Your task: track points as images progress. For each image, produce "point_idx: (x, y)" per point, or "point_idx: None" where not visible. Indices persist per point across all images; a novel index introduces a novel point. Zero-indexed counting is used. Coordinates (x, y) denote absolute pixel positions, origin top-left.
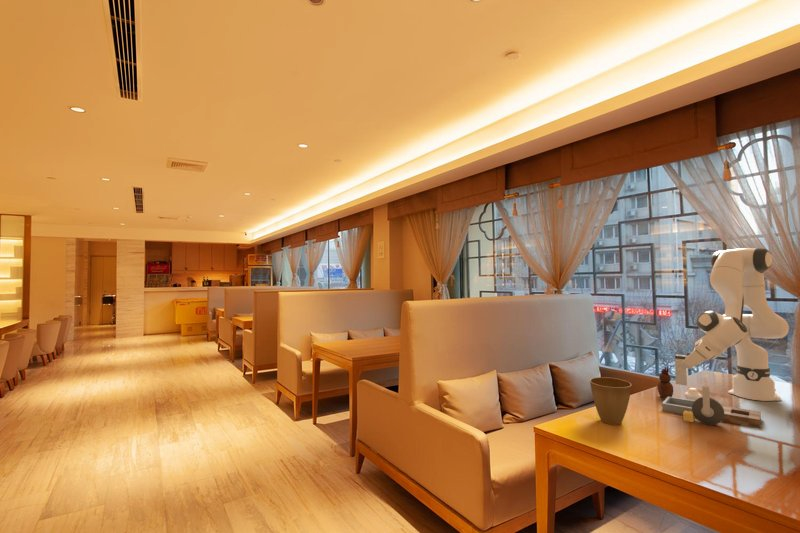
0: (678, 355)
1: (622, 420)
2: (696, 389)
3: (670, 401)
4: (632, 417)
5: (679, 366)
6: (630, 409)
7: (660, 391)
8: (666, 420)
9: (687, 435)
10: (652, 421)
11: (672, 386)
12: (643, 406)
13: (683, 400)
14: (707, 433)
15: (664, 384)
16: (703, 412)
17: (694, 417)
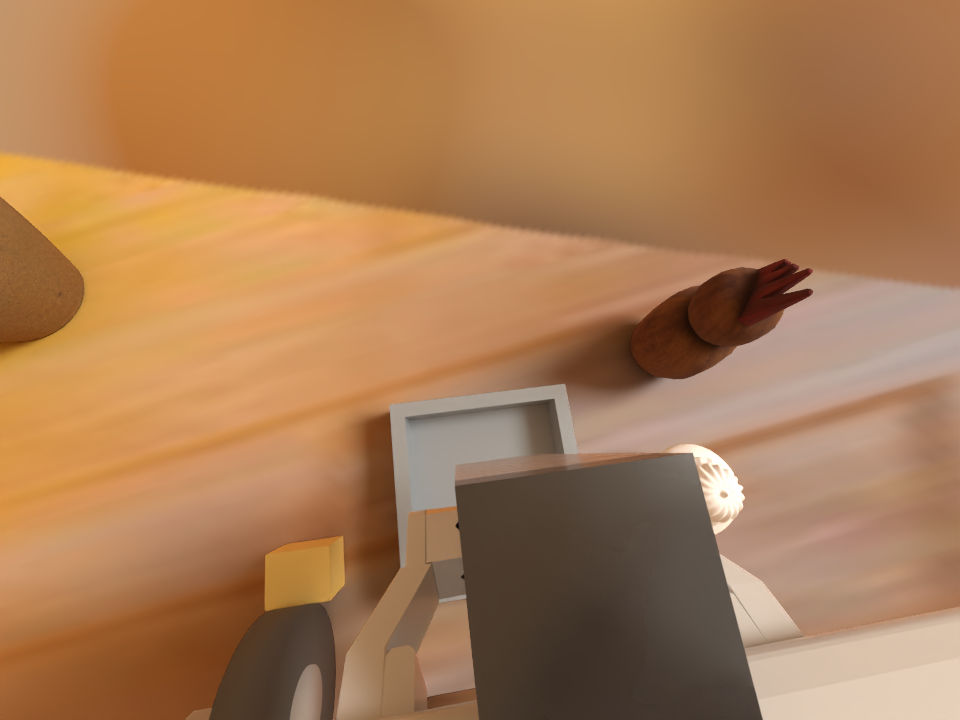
0: (556, 548)
1: (8, 341)
2: (728, 516)
3: (549, 403)
4: (172, 344)
5: (406, 553)
6: (304, 296)
7: (639, 323)
8: (229, 478)
9: (21, 641)
10: (165, 433)
11: (699, 369)
12: (402, 323)
13: None
14: (124, 714)
15: (667, 329)
16: (189, 716)
17: (338, 589)
